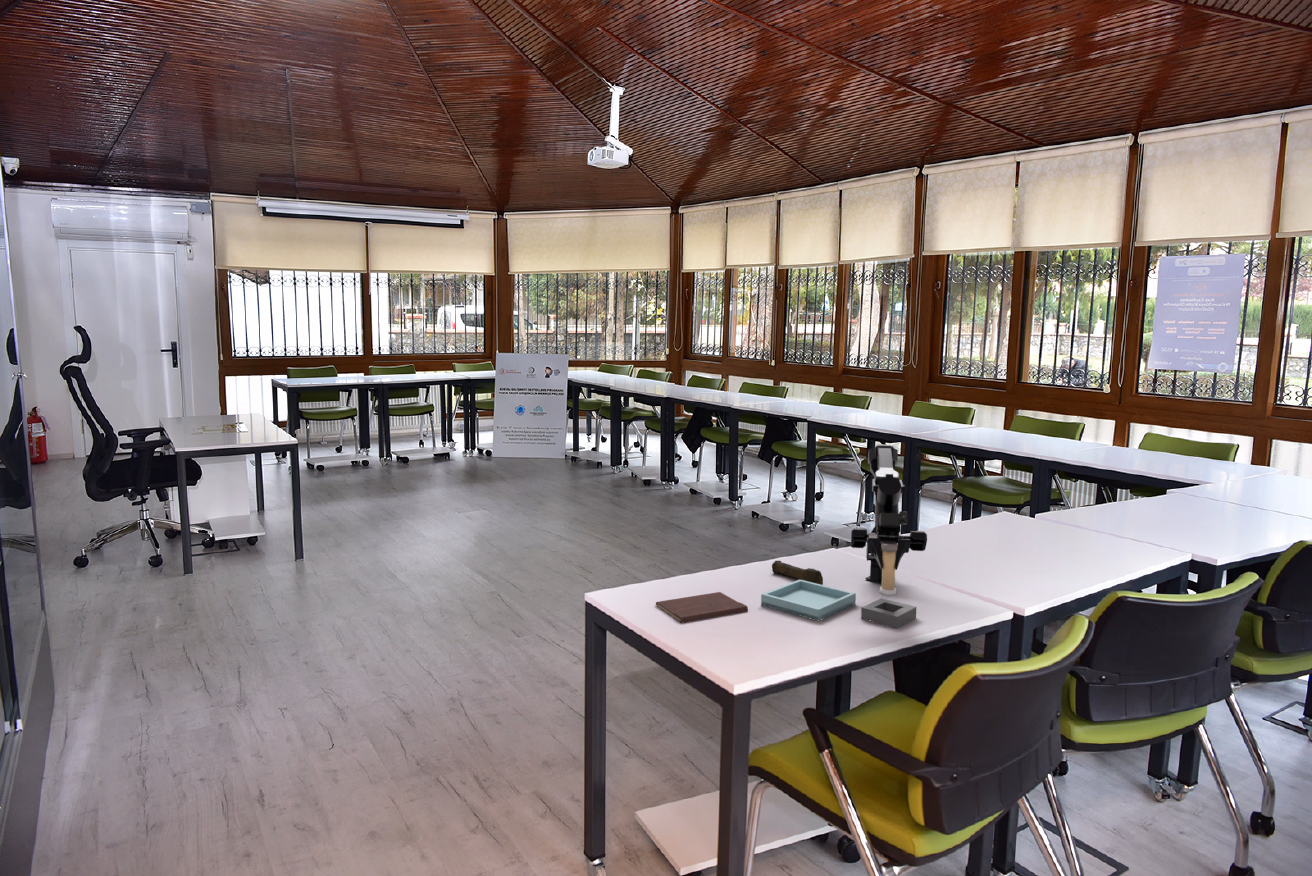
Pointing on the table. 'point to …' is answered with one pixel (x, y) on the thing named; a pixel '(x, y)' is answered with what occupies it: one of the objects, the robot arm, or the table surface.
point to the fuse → (888, 568)
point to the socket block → (888, 612)
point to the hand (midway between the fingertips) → (889, 568)
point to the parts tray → (808, 599)
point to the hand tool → (798, 572)
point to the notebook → (701, 607)
